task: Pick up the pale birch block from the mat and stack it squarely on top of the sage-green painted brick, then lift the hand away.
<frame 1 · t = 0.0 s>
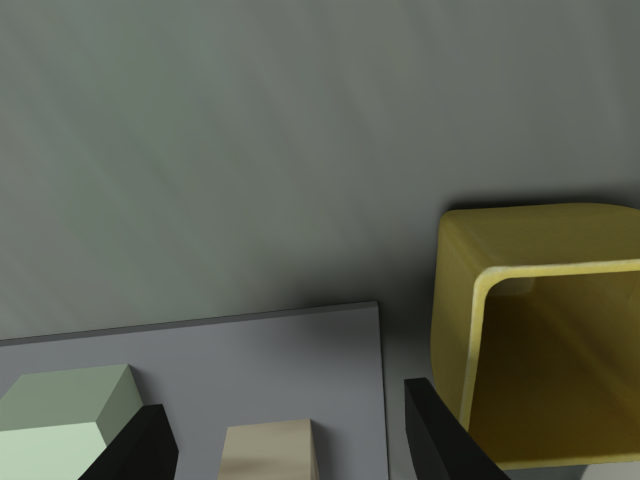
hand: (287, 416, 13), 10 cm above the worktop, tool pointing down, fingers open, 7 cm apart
flower pot: (488, 253, 22), on the worktop
sage brick: (92, 409, 25), point 1 cm above the worktop, touching play mat
play mat: (189, 423, 26), on the worktop
birch block: (275, 451, 27), point 1 cm above the worktop, touching play mat
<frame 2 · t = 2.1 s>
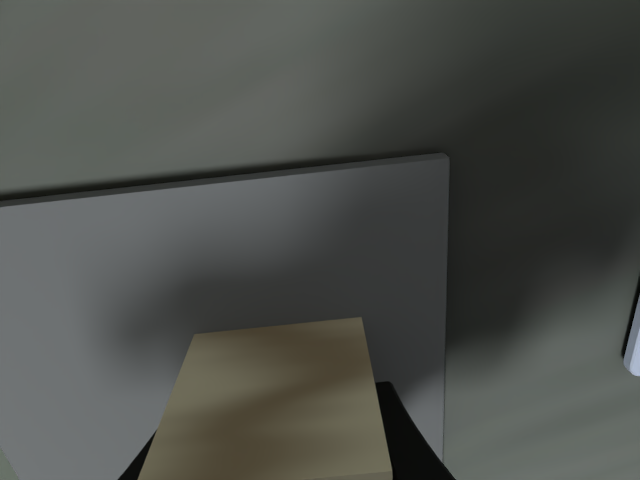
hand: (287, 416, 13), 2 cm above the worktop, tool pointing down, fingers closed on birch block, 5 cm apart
birch block: (288, 389, 14), point 1 cm above the worktop, touching gripper, play mat
when the fingers open (7 cm above the worktop, at t = 5.0 s): birch block drops 1 cm, resting on sage brick.
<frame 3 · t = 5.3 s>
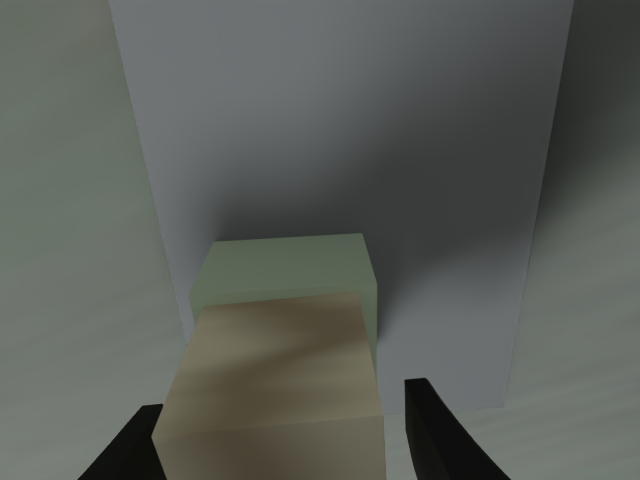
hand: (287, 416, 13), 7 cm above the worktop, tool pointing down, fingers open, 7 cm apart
sage brick: (293, 300, 18), point 1 cm above the worktop, touching birch block, play mat
play mat: (347, 181, 17), on the worktop
birch block: (289, 360, 15), point 5 cm above the worktop, touching sage brick
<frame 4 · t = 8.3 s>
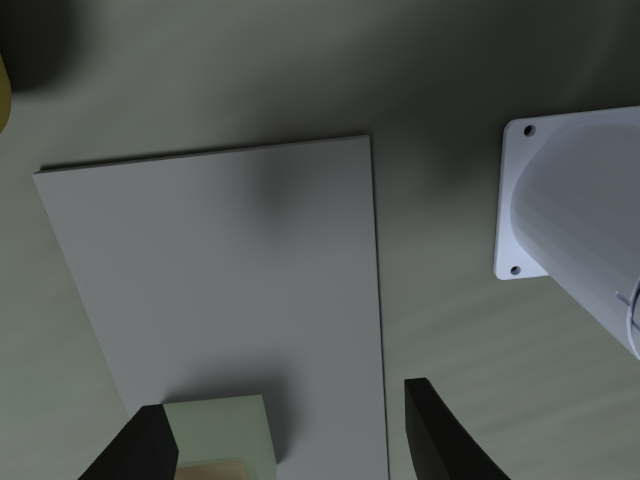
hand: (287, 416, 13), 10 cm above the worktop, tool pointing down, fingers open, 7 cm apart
sage brick: (220, 436, 26), point 1 cm above the worktop, touching birch block, play mat
play mat: (248, 361, 24), on the worktop
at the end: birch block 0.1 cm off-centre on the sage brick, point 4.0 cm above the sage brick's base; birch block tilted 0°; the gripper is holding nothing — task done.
